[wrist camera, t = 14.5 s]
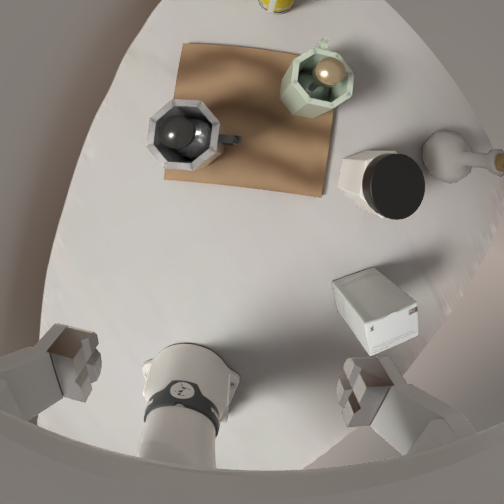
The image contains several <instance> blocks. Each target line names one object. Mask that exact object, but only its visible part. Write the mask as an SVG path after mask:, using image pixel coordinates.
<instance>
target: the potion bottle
mask: <svg viewBox="0 0 504 504" xmlns="http://www.w3.org/2000/svg"><path fill="white" fill-rule="evenodd" d="M422 161H423V163H424V164H425V166H426V168H427V170H428V172H430V174H431V175H432V176H434V177H435V178H437V179H439V180H442V181H444V182H447V183H449V184H450V183H455V182H458V181H459V180H461V179H462V178H464V177H465V176H467V175H468V174H469V173H470V172H471V168H472V166H473V167H480V168H486V169H488V170H489V172H491V173H493V174H495V175H497V176H500V177H501V176H503V175H504V152H503V150H502V149H495V150H490V151H489V152H488V154H486V153H475V152H472V149H471V147H470V146H469V145H468V144H467V143H466V141H465V140H464V139H463V138H462V137H461V136H460V135H459V134H457V133H454V132H452V131H438V132H436V133H434V134H432V136H431V137H429V139H428V140H427V141H426V142H425V144H424V145H423V146H422Z"/></svg>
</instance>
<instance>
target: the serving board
mask: <svg viewBox="0 0 504 504" xmlns="http://www.w3.org/2000/svg"><path fill="white" fill-rule="evenodd" d="M297 57H299V55H294V54H288V53H283V52H276V51H270V50H263V49H255V48H247V47H237V46H225V45H211V44H183V47H182V52H181V57H180V63H179V68H178V74H177V80H176V86H175V92H174V99H181V100H199V101H202V102H203V103H204V104H205V105H206V106H207V108H208V109H209V110H210V111H211V112H212V113H213V115H214V116H215V117H216V118H217V119H218V121H219V122H220V123H221V125H222V127H223V129H224V130H225V132H226V134H225V135H235V136H242V139H241V146H240V147H238V146H229V145H224V150H223V154H221V155H220V156H219V157H218V158H216V159H215V160H214V161H213V162H211V163H210V164H209V165H208V166H206V167H203V168H200V169H197V170H193V171H191V170H179V169H165V174H164V180H176V181H188V182H199V183H209V184H219V185H228V186H237V187H246V188H254V189H262V190H270V191H278V192H285V193H292V194H299V195H306V196H313V197H319V198H321V196H322V190H323V184H324V177H325V171H326V164H327V157H328V150H329V143H330V135H331V128H332V120H333V111H334V108H333V109H331V110H329V111H327V112H325V113H323V114H321V115H319V116H317V117H315V118H307V117H302V116H296V115H292V114H291V113H290V112H289V110H288V109H287V108H286V106H285V105H284V104H283V103H282V101H281V100H280V99H279V96H280V89H281V81H282V78H283V77H284V75H285V73H286V72H287V70H288V68H289V66H290V65H291V63H292V61H293V60H294V59H295V58H297Z"/></svg>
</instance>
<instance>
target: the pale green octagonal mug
mask: <svg viewBox="0 0 504 504" xmlns="http://www.w3.org/2000/svg"><path fill="white" fill-rule="evenodd" d="M327 50H328V38H325V37H322V38H321V39H320V40H319V42H318V43H317V44H316V46H315V47H314V48H312V49H310V50H309V51H307V52H305V53H304V54H302V55H300V56H299V57H297V58H295V59H294V60H293V61H292V63H291V65H290V66H289V68H288V70H287V72H286V73H285V75H284V77H283V78H282V81H281V89H280V96H279V99H280V100H281V101H282V103H283V104H284V105H285V106H286V108H287V109H288V110H289V112H290V113H291V114H292V115H296V116H302V117H307V118H315V117H317V116H319V115H321V114H323V113H325V112H327V111H329V110H331V109H333V108H335V107H336V106H338V105H339V104H341V103H342V102H344V101H345V100H347V99H348V98H350V97H351V96H352V92H353V81H354V72H353V71H352V70H351V69H350V67H349V66H348V65H347V63H346V62H345V61H344V60H343V58H342V57H341V56H340V55H339V53H335V52H331V51H327ZM326 57H333V58H336V59H338V60H340V61H341V62H342V63H343V65H344V66H345V69H346V75H345V77H344V79H343V80H342V81H340V82H339V83H338V84H336V85H335V86H333V87H329V94H328V97H327V98H326V100H325V101H322V100H318V99H313V98H310V97H309V95H308V94H307V93H306V92H305V90H304V89H303V88H302V87H301V85H300V84H299V83H298V82H297V80H298V75H299V74H301V73H303V72H307V71H312V72H313V69H314V68H315V66H316V65H317V64H318V63H319V62H320V61H321V60H322V59H324V58H326Z"/></svg>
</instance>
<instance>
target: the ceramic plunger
mask: <svg viewBox="0 0 504 504" xmlns="http://www.w3.org/2000/svg"><path fill="white" fill-rule="evenodd" d="M345 75H346V69H345V66H344V65H343V63H342V62H341V61H340V60H338V59H336V58H333V57H326V58H324V59H322V60H321V61H320V62H319V63H318V64H317V65H316V66H315V68H314V69H313V72H312V71H307V72H303V73H301V74H299V75H298V80H297V82H298V83H299V84H300V85H301V87H302V88H303V89H304V90H305V92H306V93H307V94H308V95H309V97H310V98H313V99H318V100H322V101H325V100H326V98H327V97H328V94H329V87H333V86H335V85H336V84H338V83H339V82H340V81H342V80H343V79H344V77H345Z"/></svg>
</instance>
